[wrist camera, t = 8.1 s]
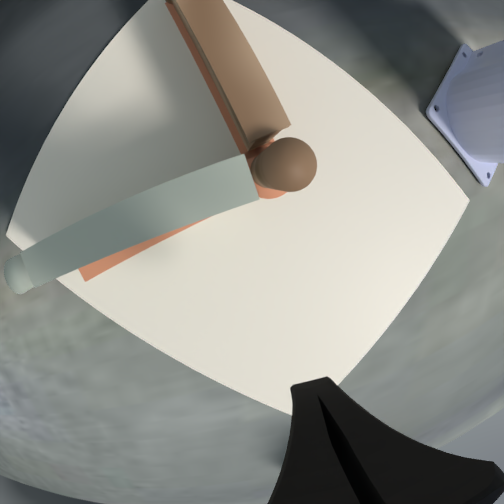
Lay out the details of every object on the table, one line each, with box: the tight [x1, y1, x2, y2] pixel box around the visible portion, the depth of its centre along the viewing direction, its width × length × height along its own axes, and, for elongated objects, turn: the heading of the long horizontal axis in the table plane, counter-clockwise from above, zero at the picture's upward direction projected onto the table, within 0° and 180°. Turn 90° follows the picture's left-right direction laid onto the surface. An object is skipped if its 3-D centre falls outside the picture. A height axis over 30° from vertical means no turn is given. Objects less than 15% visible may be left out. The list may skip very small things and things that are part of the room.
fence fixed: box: [165, 0, 317, 192], centre depth 12 cm, size 2×15×6 cm, turn 24°
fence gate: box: [4, 154, 260, 294], centre depth 13 cm, size 2×13×5 cm, turn 109°
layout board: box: [6, 0, 470, 415], centre depth 17 cm, size 21×26×1 cm
